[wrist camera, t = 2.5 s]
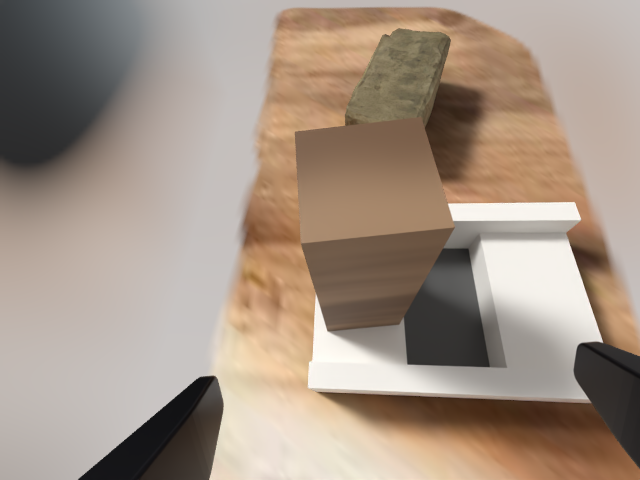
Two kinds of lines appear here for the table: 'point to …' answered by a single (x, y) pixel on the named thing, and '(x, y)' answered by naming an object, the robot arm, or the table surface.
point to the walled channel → (477, 317)
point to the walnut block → (369, 218)
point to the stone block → (400, 78)
